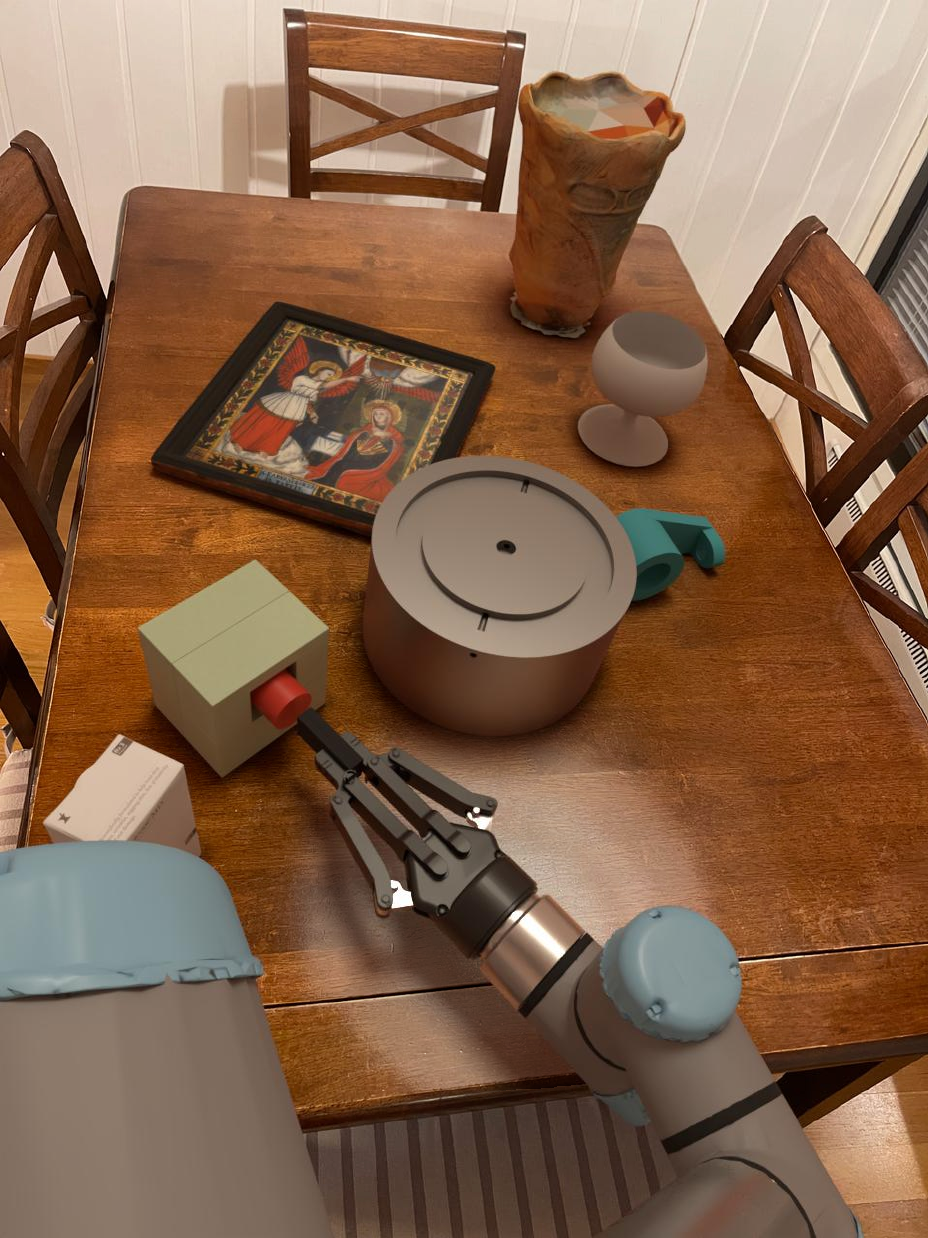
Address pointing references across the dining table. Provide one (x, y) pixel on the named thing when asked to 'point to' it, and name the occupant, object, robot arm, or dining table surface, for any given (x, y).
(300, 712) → the button
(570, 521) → the container
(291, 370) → the framed painting
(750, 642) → the dining table surface
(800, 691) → the dining table surface
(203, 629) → the box
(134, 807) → the cosmetic box
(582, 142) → the vase
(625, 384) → the chalice
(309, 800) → the dining table surface
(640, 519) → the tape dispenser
